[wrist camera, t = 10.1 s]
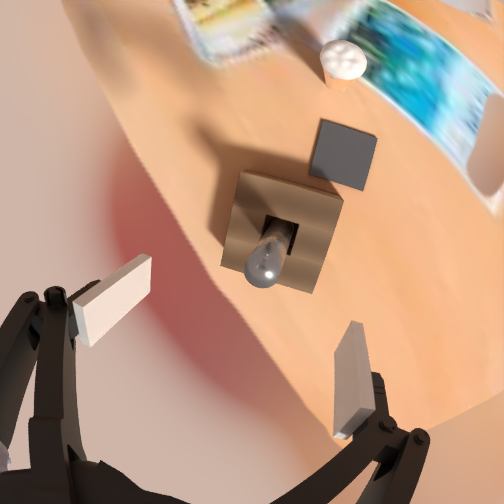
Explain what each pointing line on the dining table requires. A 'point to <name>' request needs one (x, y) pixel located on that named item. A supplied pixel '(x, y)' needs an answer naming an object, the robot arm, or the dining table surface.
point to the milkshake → (342, 64)
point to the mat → (343, 155)
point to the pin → (269, 255)
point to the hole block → (288, 208)
